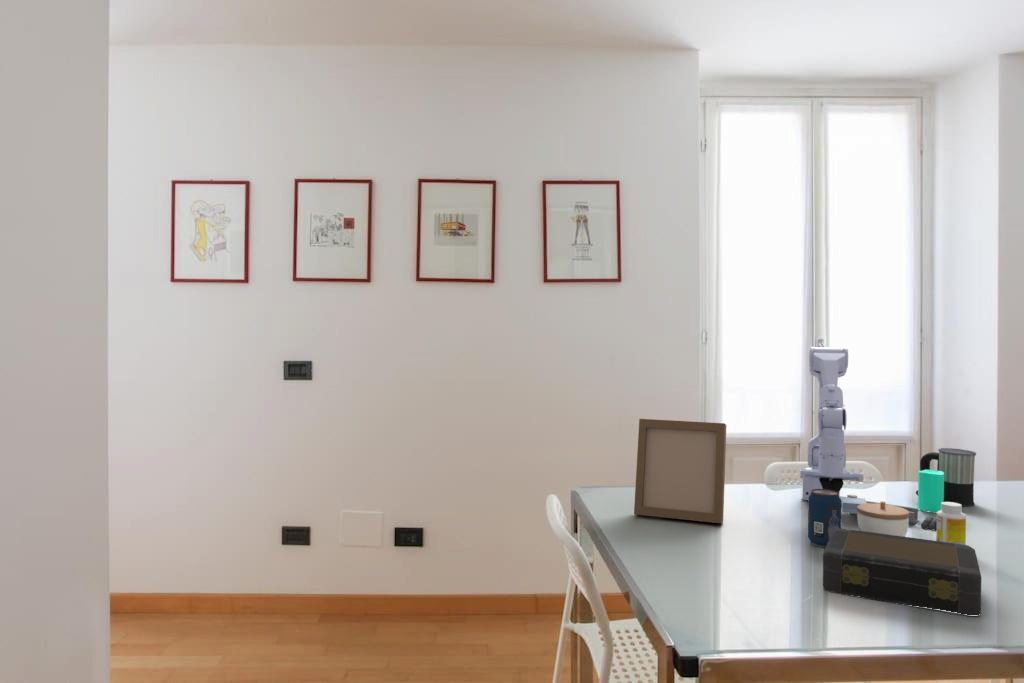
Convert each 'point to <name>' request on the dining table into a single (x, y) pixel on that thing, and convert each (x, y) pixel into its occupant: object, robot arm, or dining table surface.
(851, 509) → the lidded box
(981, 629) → the dining table surface
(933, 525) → the grey ridged block
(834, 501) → the soda can
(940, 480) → the candle
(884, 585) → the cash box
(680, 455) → the photo frame
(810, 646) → the dining table surface
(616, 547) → the dining table surface
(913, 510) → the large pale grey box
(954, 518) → the supplement bottle
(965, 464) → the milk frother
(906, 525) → the lidded jar
